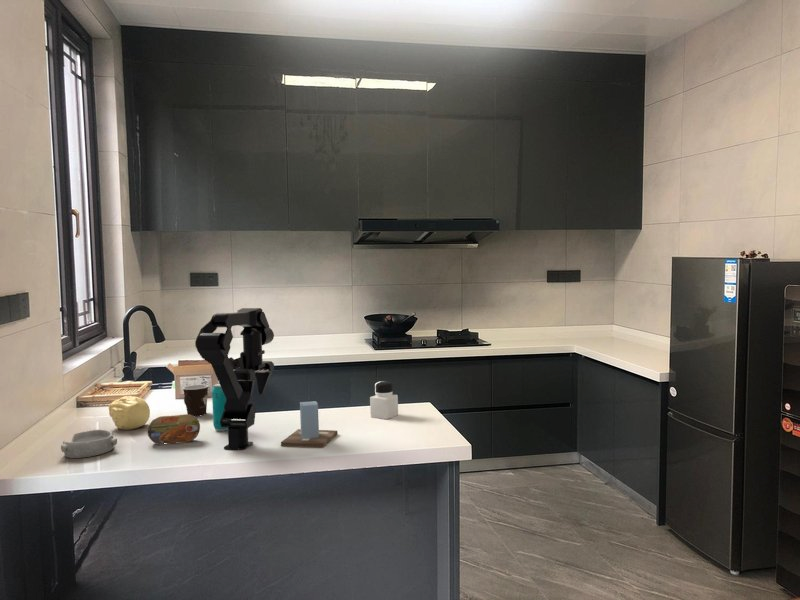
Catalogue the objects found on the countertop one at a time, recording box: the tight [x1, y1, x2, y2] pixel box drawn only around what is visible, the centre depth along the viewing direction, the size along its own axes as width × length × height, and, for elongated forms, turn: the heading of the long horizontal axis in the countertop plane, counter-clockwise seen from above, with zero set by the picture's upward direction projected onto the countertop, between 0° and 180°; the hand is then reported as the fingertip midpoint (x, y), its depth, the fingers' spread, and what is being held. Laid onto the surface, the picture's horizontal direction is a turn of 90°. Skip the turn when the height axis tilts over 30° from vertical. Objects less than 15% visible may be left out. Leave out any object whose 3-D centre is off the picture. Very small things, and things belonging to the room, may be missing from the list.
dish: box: [60, 429, 118, 459], centre depth 181 cm, size 14×14×5 cm
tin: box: [147, 413, 201, 445], centre depth 188 cm, size 15×3×8 cm, turn 101°
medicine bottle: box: [369, 380, 399, 420], centre depth 214 cm, size 7×7×12 cm
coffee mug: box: [182, 384, 209, 417], centre depth 222 cm, size 12×9×10 cm
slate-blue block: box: [299, 400, 320, 439], centre depth 187 cm, size 5×5×10 cm
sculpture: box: [108, 395, 151, 431], centre depth 207 cm, size 11×12×11 cm
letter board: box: [280, 428, 338, 449], centre depth 187 cm, size 14×13×1 cm
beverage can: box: [211, 382, 233, 432], centre depth 201 cm, size 6×6×15 cm
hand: (254, 397), depth 193 cm, fingers open, 9 cm apart
